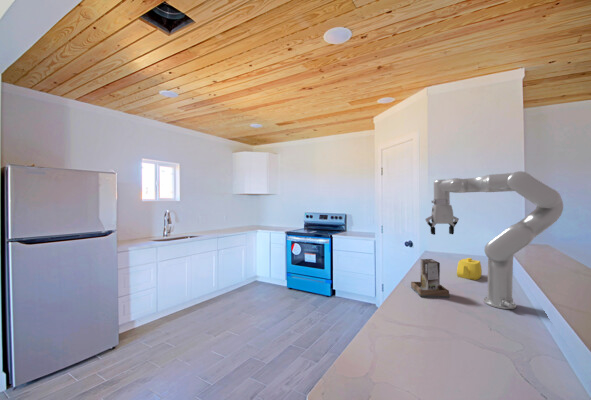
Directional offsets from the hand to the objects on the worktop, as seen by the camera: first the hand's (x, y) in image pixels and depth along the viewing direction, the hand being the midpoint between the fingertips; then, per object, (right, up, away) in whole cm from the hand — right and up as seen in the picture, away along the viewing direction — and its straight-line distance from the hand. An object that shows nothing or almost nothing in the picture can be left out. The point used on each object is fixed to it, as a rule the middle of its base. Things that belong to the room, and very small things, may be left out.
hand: (442, 234), depth 149 cm
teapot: (+31, -31, +27) cm, 52 cm away
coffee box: (-8, -30, -2) cm, 31 cm away
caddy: (-8, -31, -1) cm, 32 cm away
